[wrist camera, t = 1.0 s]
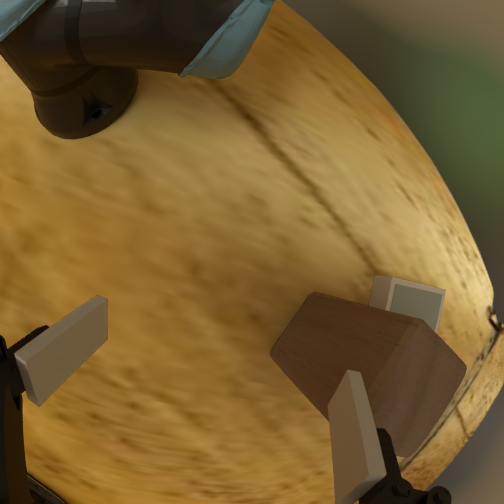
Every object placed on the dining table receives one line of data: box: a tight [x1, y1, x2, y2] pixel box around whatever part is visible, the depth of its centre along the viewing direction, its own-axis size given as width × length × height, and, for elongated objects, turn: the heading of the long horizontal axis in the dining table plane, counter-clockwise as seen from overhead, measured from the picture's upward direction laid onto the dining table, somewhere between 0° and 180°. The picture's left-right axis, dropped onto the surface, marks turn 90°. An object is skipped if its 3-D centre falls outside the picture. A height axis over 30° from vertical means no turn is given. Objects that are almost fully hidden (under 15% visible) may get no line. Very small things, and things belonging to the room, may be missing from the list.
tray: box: [369, 275, 446, 334], centre depth 37 cm, size 12×12×4 cm
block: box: [270, 292, 467, 458], centre depth 27 cm, size 10×10×20 cm
